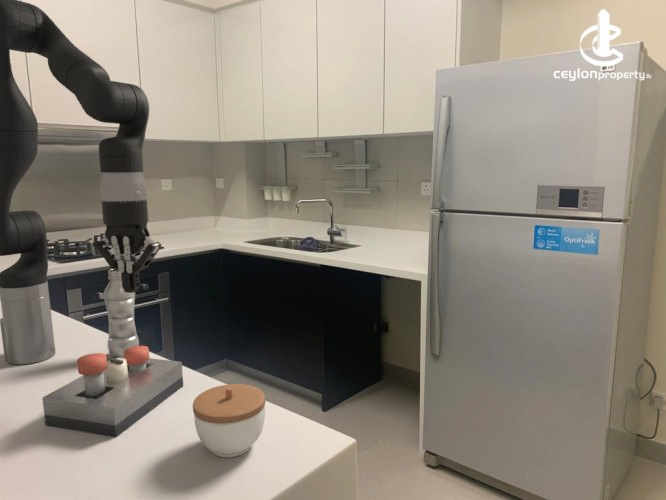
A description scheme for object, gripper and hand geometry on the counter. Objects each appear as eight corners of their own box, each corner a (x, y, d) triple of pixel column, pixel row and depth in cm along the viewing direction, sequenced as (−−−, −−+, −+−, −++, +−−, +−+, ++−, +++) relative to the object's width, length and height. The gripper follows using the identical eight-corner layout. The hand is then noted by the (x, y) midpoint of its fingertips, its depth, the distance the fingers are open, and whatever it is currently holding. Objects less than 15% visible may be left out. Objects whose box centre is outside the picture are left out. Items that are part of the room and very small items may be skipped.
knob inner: (121, 383, 92) (118, 353, 91) (136, 373, 96) (133, 344, 95) (141, 385, 91) (138, 355, 90) (155, 376, 95) (153, 346, 94)
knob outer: (74, 396, 81) (70, 361, 80) (93, 384, 85) (90, 352, 84) (96, 399, 80) (93, 364, 79) (115, 387, 84) (112, 354, 83)
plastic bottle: (120, 349, 115) (112, 266, 112) (145, 351, 114) (139, 267, 111) (102, 360, 109) (93, 272, 106) (129, 362, 108) (121, 273, 104)
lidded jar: (222, 422, 82) (219, 370, 80) (279, 434, 78) (277, 379, 76) (180, 458, 72) (176, 398, 70) (243, 474, 68) (240, 411, 66)
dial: (102, 380, 87) (99, 362, 86) (119, 372, 90) (116, 354, 89) (115, 384, 85) (113, 365, 85) (132, 375, 88) (130, 357, 88)
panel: (45, 425, 81) (42, 397, 80) (122, 378, 99) (120, 355, 99) (116, 437, 78) (113, 408, 77) (183, 385, 96) (181, 361, 95)
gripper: (168, 197, 89) (174, 289, 92) (108, 196, 93) (115, 284, 96) (142, 200, 82) (149, 299, 85) (78, 198, 86) (86, 294, 89)
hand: (131, 291), depth 90 cm, fingers closed
